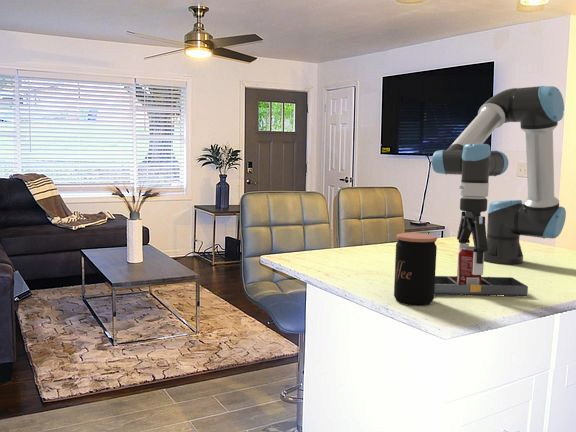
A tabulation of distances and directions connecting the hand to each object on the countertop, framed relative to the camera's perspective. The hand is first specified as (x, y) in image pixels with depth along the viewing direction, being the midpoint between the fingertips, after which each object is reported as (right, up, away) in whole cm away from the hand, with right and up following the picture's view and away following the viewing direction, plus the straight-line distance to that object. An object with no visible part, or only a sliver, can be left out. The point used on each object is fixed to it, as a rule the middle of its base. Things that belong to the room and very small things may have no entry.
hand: (470, 269), depth 163 cm
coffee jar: (-19, -8, -12) cm, 24 cm away
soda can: (0, -6, +1) cm, 6 cm away
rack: (0, -6, +1) cm, 6 cm away
